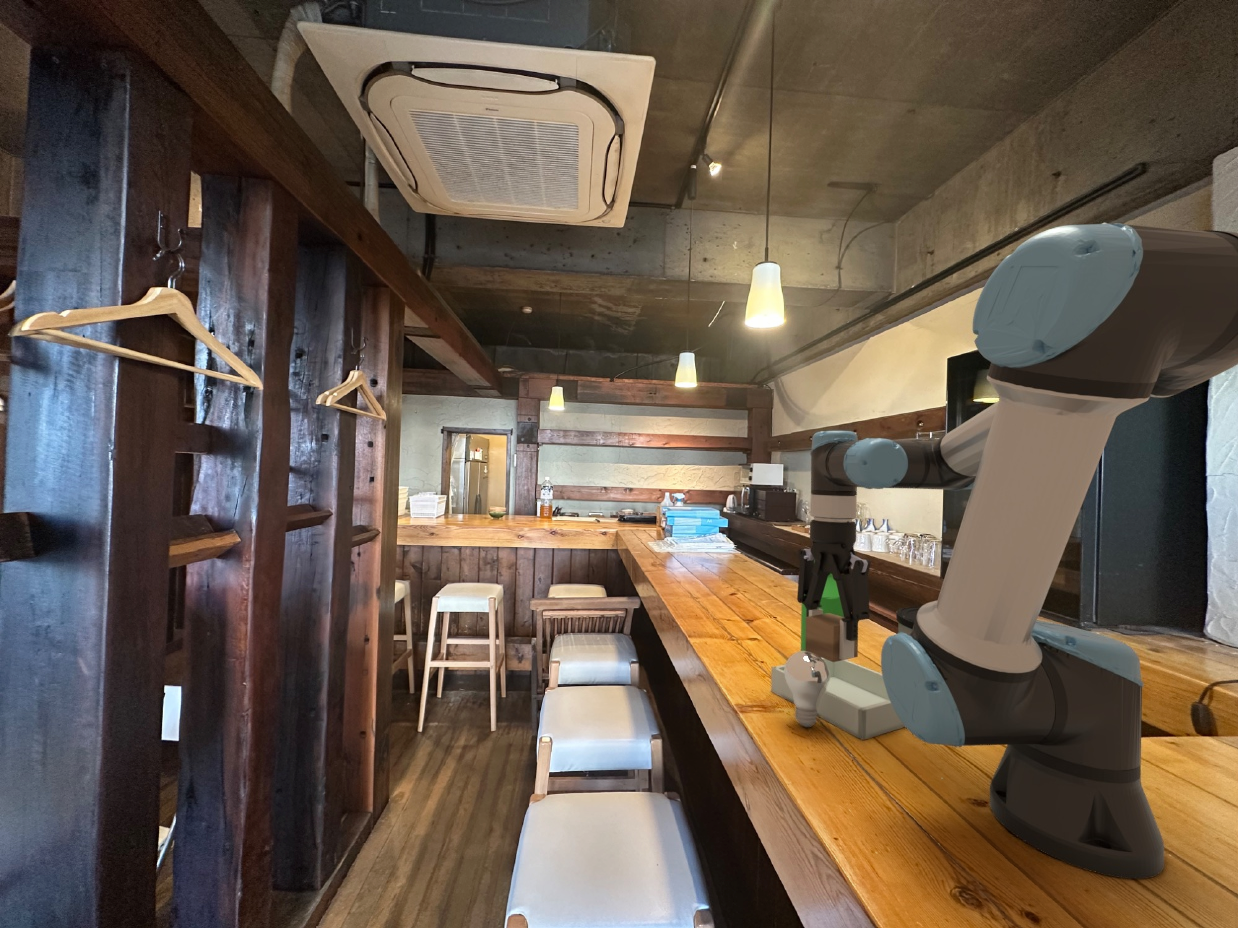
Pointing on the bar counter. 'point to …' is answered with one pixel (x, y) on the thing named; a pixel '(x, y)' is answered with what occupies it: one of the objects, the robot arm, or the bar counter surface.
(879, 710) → the tray
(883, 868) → the bar counter surface
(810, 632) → the walnut block
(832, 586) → the bottle
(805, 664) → the light bulb
